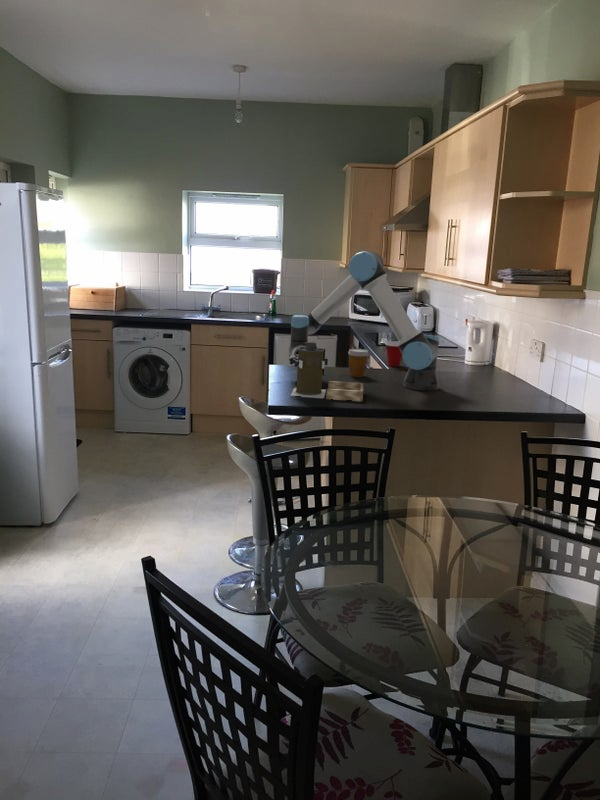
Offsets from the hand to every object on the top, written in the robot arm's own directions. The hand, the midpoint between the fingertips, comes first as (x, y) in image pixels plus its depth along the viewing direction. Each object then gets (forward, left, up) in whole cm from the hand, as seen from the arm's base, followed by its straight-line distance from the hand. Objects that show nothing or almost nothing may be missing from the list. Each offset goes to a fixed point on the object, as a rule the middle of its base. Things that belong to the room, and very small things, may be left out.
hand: (312, 364), depth 255 cm
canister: (+1, -5, -12) cm, 13 cm away
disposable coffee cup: (-18, -49, -13) cm, 53 cm away
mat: (+1, -5, -12) cm, 13 cm away
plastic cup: (-36, -82, -13) cm, 91 cm away
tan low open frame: (-13, -5, -12) cm, 18 cm away
